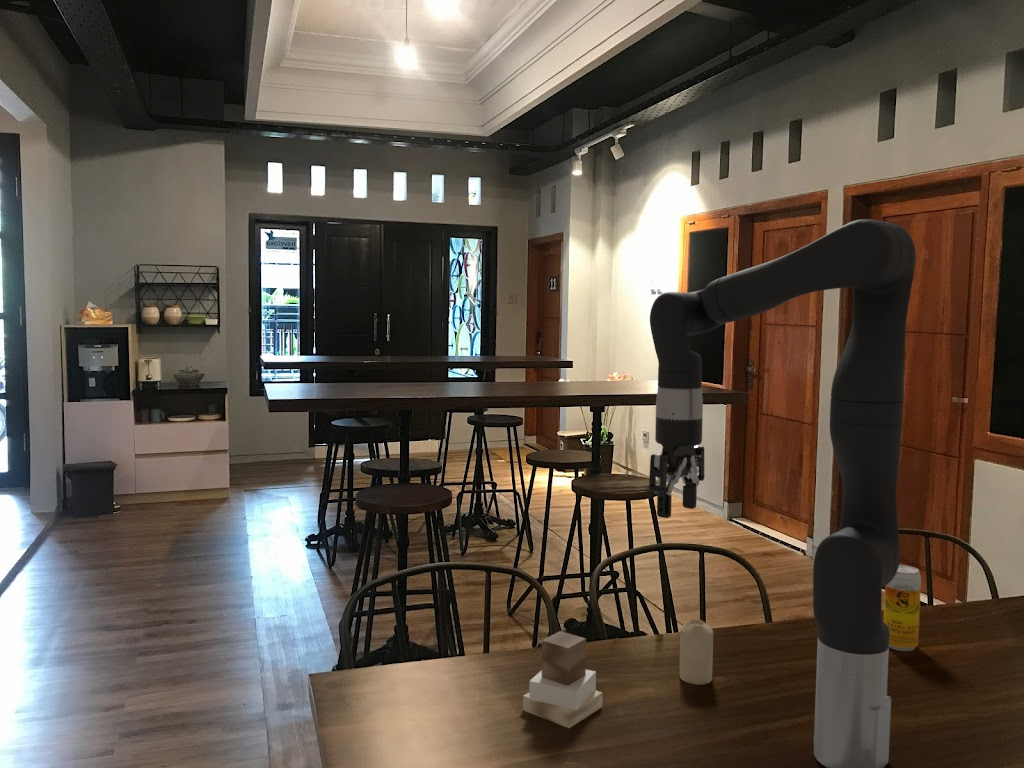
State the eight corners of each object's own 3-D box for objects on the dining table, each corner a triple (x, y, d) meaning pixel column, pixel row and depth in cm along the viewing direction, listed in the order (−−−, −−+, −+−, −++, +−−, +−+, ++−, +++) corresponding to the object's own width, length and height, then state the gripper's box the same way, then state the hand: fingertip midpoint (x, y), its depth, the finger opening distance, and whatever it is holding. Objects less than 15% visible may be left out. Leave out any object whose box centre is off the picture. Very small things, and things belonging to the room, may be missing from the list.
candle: (712, 686, 141) (714, 629, 140) (679, 683, 142) (680, 626, 141) (711, 672, 146) (712, 617, 145) (679, 670, 147) (680, 615, 146)
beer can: (884, 650, 156) (888, 572, 155) (880, 638, 162) (883, 562, 161) (920, 654, 154) (924, 575, 153) (914, 641, 160) (918, 565, 159)
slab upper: (595, 689, 134) (595, 671, 134) (576, 710, 127) (576, 691, 127) (550, 679, 138) (550, 661, 137) (529, 699, 131) (529, 680, 130)
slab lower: (602, 710, 133) (602, 692, 133) (569, 732, 126) (569, 713, 126) (557, 694, 139) (557, 676, 139) (523, 713, 132) (523, 695, 132)
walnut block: (585, 675, 132) (585, 638, 132) (567, 685, 129) (568, 648, 128) (559, 666, 136) (560, 631, 135) (541, 677, 132) (541, 640, 131)
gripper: (678, 421, 128) (676, 524, 129) (720, 412, 139) (717, 508, 140) (636, 417, 133) (634, 516, 134) (679, 409, 144) (677, 501, 145)
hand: (677, 512), depth 137 cm, fingers open, 8 cm apart
